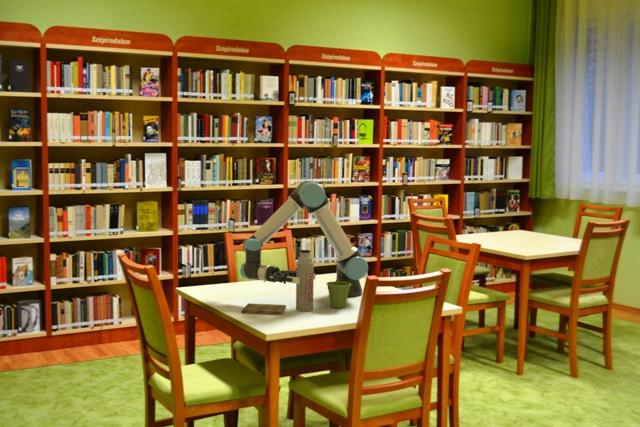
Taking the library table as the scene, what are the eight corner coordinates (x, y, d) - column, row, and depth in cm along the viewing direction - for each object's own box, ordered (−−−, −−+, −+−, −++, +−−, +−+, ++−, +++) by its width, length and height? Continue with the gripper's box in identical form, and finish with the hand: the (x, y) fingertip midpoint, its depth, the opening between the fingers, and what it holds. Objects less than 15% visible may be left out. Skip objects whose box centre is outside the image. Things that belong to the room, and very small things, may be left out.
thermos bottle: (316, 310, 348) (317, 250, 345) (300, 312, 344) (301, 251, 342) (308, 307, 355) (309, 248, 352) (293, 308, 351) (293, 249, 349)
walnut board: (286, 308, 353) (286, 304, 353) (281, 314, 339) (281, 311, 339) (248, 306, 355) (248, 303, 355) (241, 313, 341) (241, 309, 341)
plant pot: (342, 310, 349) (343, 287, 348) (321, 307, 355) (321, 284, 354) (355, 306, 359) (355, 283, 358) (334, 303, 365) (334, 280, 364)
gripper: (284, 277, 369) (321, 282, 358) (253, 285, 348) (291, 290, 337) (284, 262, 369) (321, 266, 358) (253, 269, 347) (292, 274, 336)
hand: (307, 278), depth 347 cm, fingers open, 13 cm apart
